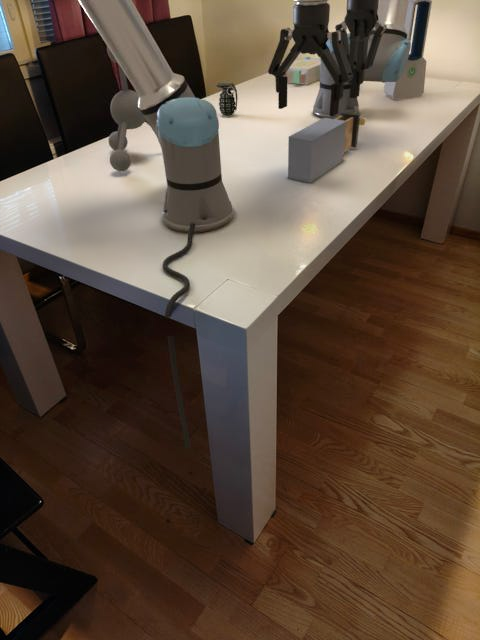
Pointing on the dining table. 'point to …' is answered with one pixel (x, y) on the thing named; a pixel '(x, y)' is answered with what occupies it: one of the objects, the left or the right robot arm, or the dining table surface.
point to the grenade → (227, 99)
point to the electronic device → (413, 54)
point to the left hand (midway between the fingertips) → (307, 111)
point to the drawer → (351, 128)
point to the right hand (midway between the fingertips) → (354, 96)
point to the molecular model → (123, 120)
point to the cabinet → (316, 149)
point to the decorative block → (304, 71)
